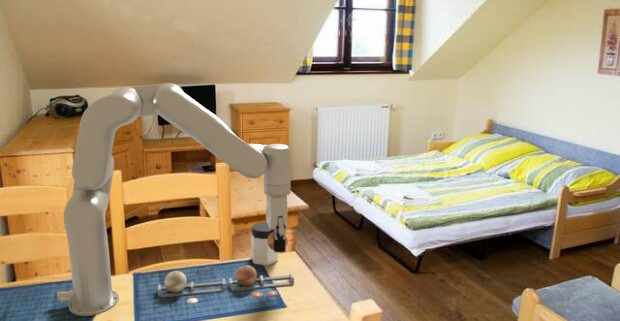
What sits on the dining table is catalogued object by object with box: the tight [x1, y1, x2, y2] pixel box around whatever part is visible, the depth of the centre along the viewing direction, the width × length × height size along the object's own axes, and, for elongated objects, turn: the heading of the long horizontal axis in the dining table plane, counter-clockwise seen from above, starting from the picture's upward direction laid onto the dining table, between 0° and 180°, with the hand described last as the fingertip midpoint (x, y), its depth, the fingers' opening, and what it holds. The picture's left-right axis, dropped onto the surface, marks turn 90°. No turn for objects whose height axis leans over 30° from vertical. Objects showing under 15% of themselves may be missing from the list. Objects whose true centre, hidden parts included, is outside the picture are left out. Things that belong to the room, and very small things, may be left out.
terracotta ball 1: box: [235, 264, 258, 286], centre depth 148 cm, size 6×6×6 cm
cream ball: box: [164, 270, 187, 293], centre depth 144 cm, size 6×6×6 cm
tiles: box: [186, 290, 279, 305], centre depth 142 cm, size 29×4×1 cm, turn 103°
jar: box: [250, 221, 279, 266], centre depth 165 cm, size 9×8×12 cm
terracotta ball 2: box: [267, 231, 289, 250], centre depth 148 cm, size 6×6×6 cm
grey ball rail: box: [157, 272, 295, 298], centre depth 148 cm, size 39×5×2 cm, turn 103°
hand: (277, 246), depth 148 cm, fingers closed on terracotta ball 2, 5 cm apart
